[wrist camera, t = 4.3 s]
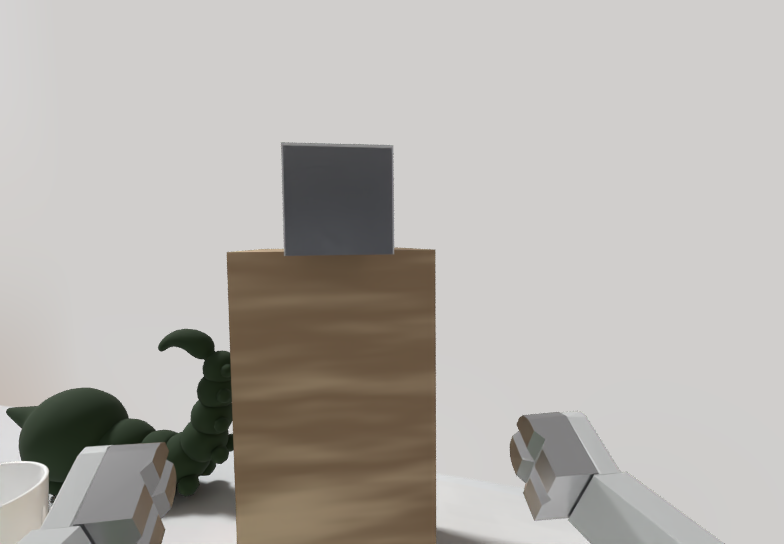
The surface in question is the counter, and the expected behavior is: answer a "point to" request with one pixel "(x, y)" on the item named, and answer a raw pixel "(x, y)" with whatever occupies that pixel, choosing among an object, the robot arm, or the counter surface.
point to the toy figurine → (134, 422)
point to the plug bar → (337, 199)
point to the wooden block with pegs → (333, 397)
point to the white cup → (22, 499)
